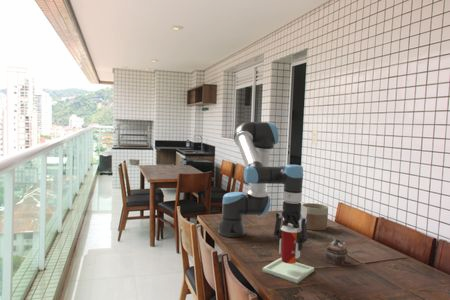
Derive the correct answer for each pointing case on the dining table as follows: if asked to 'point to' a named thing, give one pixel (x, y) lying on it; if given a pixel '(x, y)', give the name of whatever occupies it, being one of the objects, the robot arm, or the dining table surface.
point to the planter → (316, 216)
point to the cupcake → (336, 252)
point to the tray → (288, 270)
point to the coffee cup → (289, 243)
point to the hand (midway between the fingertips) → (289, 255)
